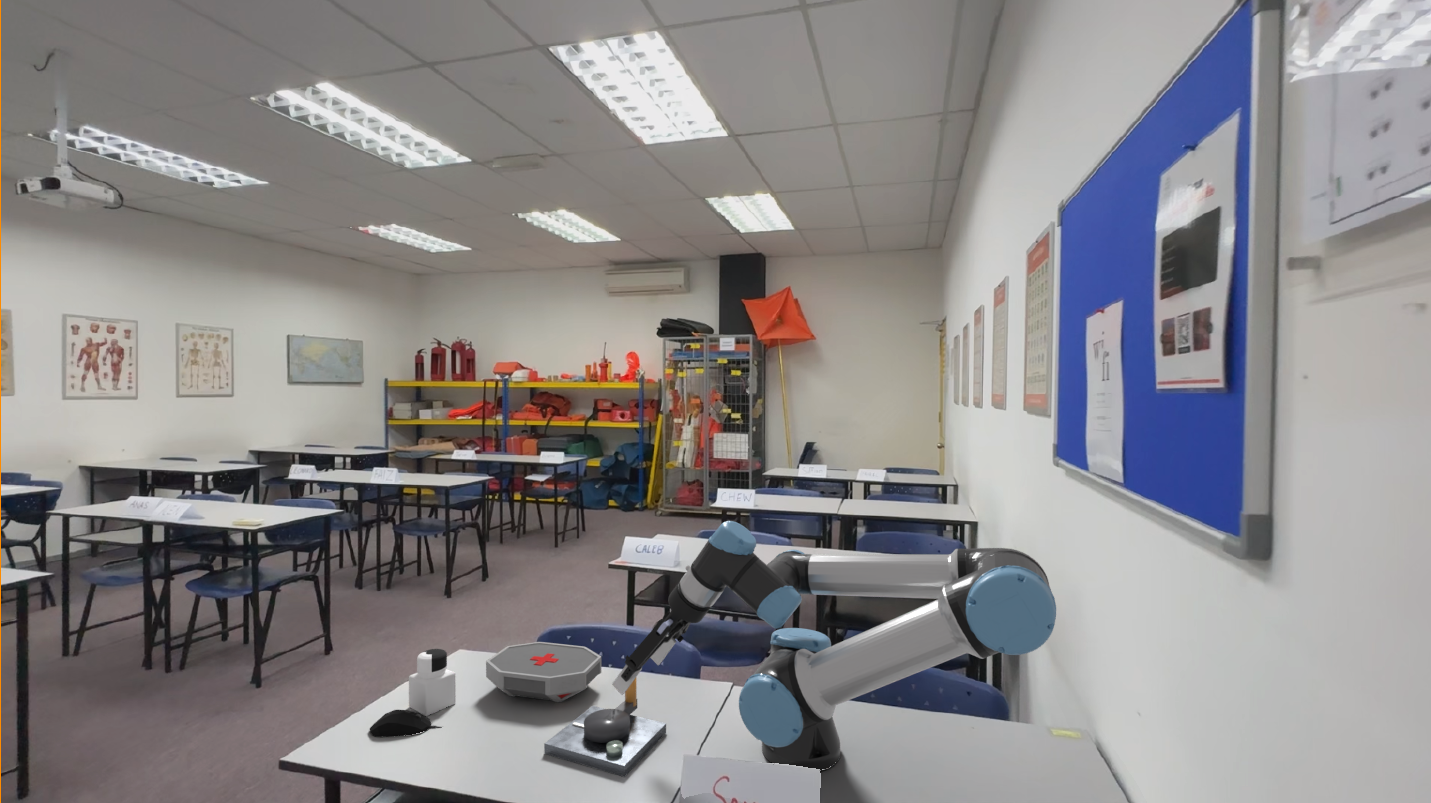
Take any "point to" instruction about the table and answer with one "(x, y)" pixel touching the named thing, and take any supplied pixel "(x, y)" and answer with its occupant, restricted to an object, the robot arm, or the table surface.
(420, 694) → the medicine bottle
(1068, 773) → the table surface
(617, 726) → the domed crank handle
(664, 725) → the base
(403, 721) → the gaming mouse
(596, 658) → the first aid kit
